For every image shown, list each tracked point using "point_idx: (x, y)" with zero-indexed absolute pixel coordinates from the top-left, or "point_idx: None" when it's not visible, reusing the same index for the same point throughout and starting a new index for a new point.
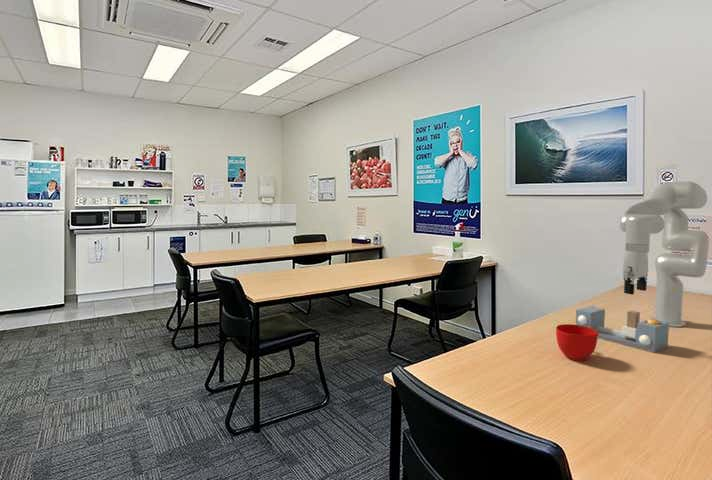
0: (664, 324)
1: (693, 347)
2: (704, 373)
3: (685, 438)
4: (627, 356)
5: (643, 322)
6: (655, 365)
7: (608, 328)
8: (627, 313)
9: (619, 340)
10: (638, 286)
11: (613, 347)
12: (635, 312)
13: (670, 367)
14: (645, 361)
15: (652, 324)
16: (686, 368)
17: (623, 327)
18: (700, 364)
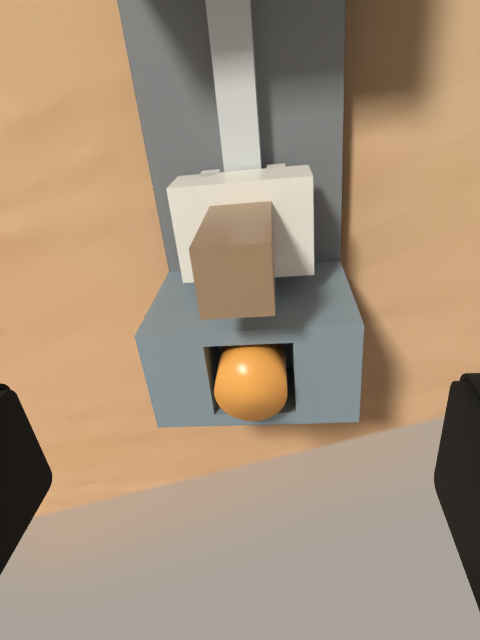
0: (285, 422)
1: (436, 384)
2: (145, 487)
3: None
4: (27, 303)
5: (198, 347)
6: (53, 398)
7: (247, 14)
8: (192, 242)
9: (153, 180)
10: (476, 448)
11: (67, 199)
12: (226, 302)
13: (89, 427)
14: (52, 365)
15: (206, 394)
16: (134, 452)
17: (170, 203)
18: (221, 460)
